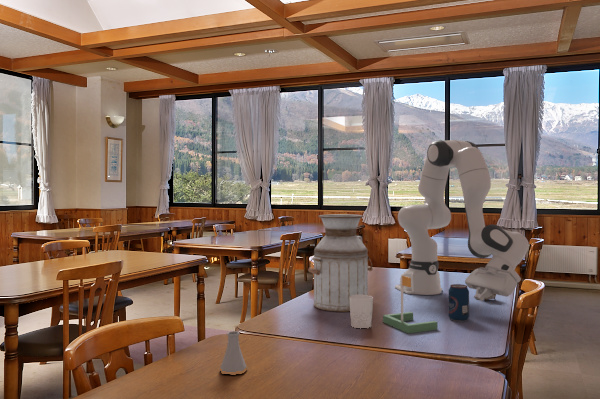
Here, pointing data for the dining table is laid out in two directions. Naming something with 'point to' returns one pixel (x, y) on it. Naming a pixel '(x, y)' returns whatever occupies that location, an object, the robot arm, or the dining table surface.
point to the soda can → (458, 302)
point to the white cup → (361, 310)
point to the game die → (490, 296)
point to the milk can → (339, 264)
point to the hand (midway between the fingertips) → (477, 299)
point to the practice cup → (407, 316)
